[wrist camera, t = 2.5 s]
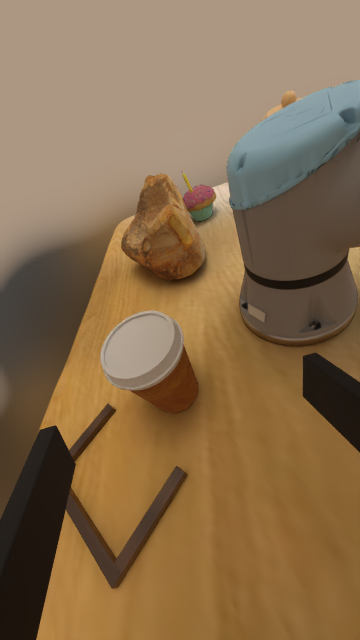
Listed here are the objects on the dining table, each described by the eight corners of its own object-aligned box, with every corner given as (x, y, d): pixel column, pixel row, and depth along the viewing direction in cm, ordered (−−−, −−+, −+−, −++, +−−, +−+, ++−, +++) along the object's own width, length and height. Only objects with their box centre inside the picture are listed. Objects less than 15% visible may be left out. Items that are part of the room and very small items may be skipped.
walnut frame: (111, 405, 36) (107, 403, 36) (187, 474, 27) (184, 473, 26) (52, 478, 32) (46, 476, 32) (117, 587, 23) (111, 589, 22)
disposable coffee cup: (155, 439, 31) (100, 401, 23) (139, 379, 38) (93, 332, 29) (222, 404, 31) (193, 352, 22) (194, 350, 38) (164, 295, 29)
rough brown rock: (139, 247, 67) (104, 196, 56) (195, 219, 63) (169, 158, 52) (140, 307, 51) (92, 252, 41) (215, 275, 47) (183, 204, 37)
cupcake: (201, 228, 60) (185, 177, 52) (181, 222, 66) (164, 175, 58) (226, 209, 62) (214, 157, 54) (204, 204, 68) (191, 157, 60)
